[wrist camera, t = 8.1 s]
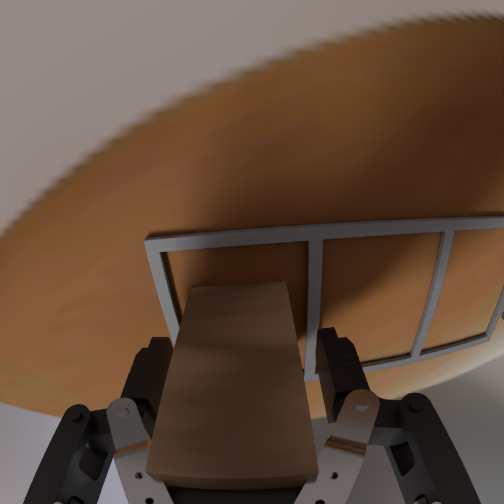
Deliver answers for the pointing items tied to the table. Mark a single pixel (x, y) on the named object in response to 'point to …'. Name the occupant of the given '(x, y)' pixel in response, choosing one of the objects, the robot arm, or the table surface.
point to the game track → (315, 258)
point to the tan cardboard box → (235, 395)
